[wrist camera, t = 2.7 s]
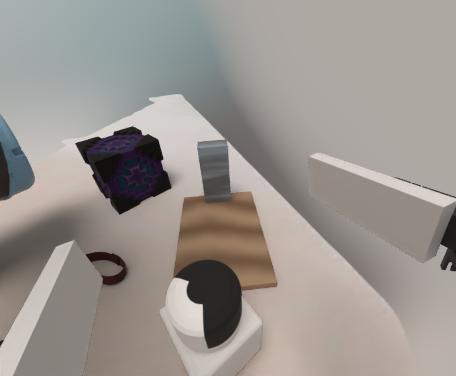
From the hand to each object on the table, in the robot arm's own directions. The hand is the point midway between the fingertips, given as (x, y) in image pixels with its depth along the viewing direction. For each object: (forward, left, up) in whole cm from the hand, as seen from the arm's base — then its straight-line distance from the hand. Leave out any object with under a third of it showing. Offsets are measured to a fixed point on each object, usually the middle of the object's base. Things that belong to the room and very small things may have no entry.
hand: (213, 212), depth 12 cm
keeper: (+11, +11, -20) cm, 25 cm away
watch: (-5, +20, -20) cm, 29 cm away
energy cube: (+9, +36, -20) cm, 42 cm away
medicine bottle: (-1, +1, -20) cm, 20 cm away
